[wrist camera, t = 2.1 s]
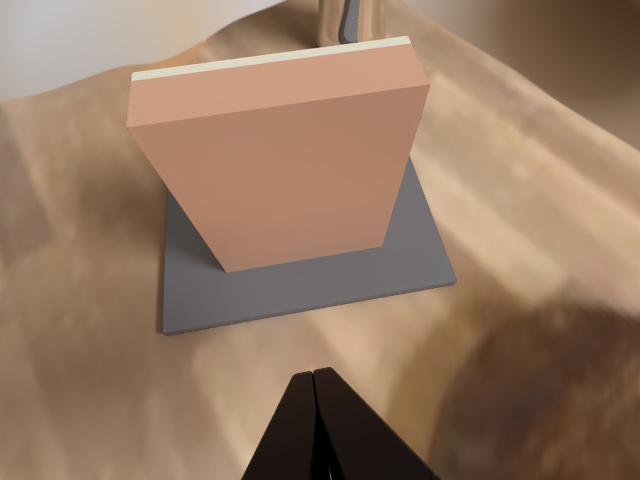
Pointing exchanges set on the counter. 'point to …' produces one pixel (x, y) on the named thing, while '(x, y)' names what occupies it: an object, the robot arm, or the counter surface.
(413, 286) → the mat
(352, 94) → the tile
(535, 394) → the counter surface
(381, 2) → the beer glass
